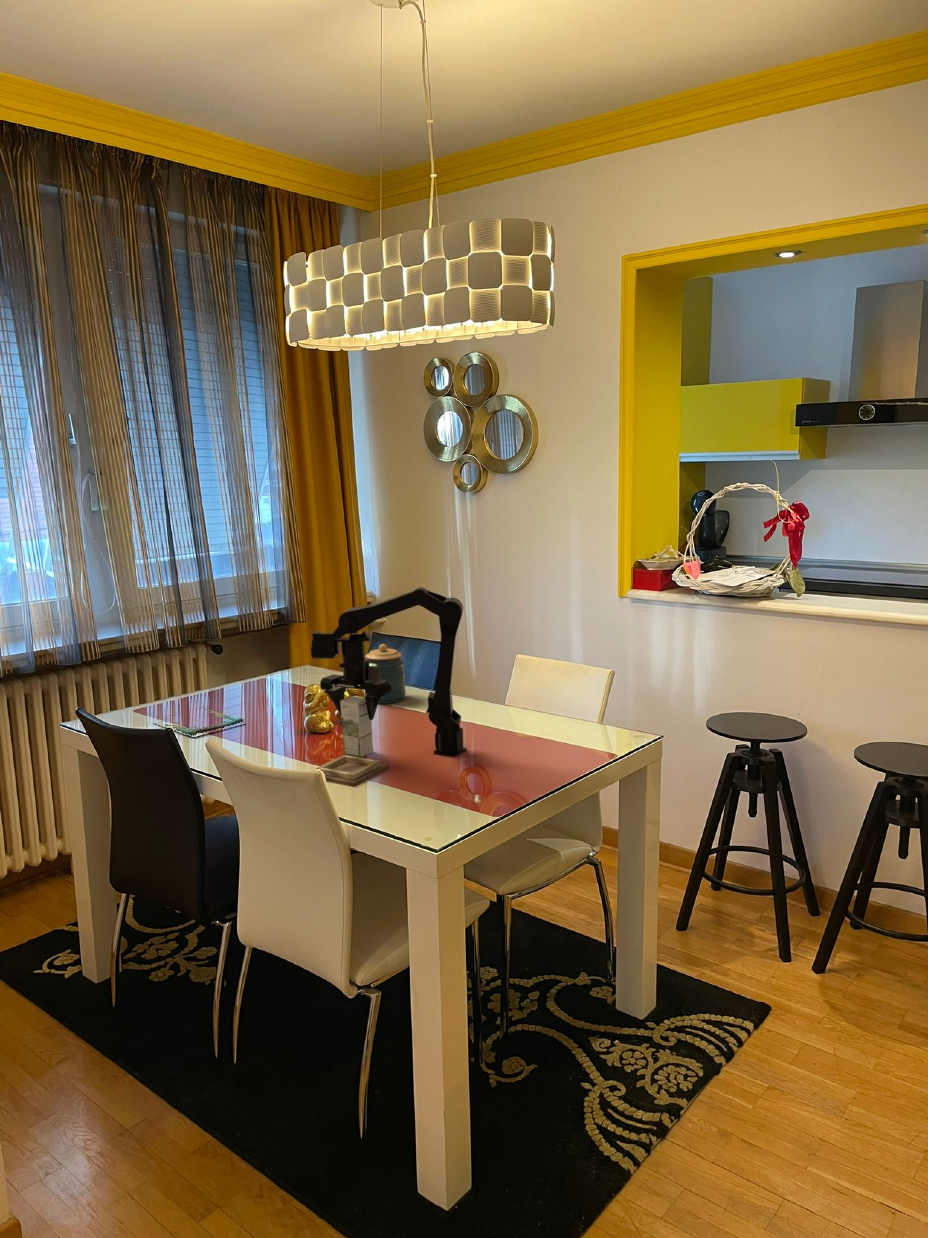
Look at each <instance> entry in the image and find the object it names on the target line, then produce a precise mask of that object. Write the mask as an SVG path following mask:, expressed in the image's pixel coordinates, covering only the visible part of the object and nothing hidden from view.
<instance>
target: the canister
mask: <svg viewBox="0 0 928 1238" xmlns="http://www.w3.org/2000/svg"><path fill="white" fill-rule="evenodd" d="M402 656H403V655H402V653H401V652H399V651H398V650H397V649H393V648H388V646H387V644H384V643H382V644H380V645H379V646H378V649H372V650H370V651H369V653H367V654H365V659H366V660H368V662H369V666H371V667H376V668H380V675H379V680H385V681H389V683H390V684H391V692H388V693H387V694H386V695H384V696H382V697H381V699H380V700H379V703H378V705H380V704H381V705H387V704H393V703H398V702H402V701H404V700H406V695H407V689H406V681H405V679H406V678H405V673H406V671H405V670H404V664H405V660H404V659H402V658H401V657H402ZM372 681H375V679H372V680H370V681H366V682H367V683H370V682H372ZM365 696H367V694H366V692H365V691H364V697H365Z"/></svg>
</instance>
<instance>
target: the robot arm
mask: <svg viewBox="0 0 928 1238" xmlns="http://www.w3.org/2000/svg"><path fill="white" fill-rule="evenodd" d="M416 606H420V607H422V608H423V609H426V610H427V611H428V612H431V613H432V614H433V615H436V616H438V621H439V623H438V624H439V630H440V631H439V632H440V646H439V654H438V655H439V656H438V662H437V663H438V667H437V677H436V685H435V691H434V692H433V691H430V692H429V693H428V697H427V706H428V707H427V709H426V712H425V713H426V714H428V719H429V721H430V723H432V725H434V726H435V727H436V728H435V733H434V746H435V747H434V748H435V750H433V754H436V755H442V756H447V757H457V756H458V755H460V754H462V753H464V752H465V751H467V750H468V748H467V747H465V746H464V728H462V727H460V726H461V720H462V716H461V714H460V713H458V712H457V711H456V710H455V709H454V707H453V706H454V705H453V704H454V702H453V695H452V694H453V693H452V679H453V678H452V677H453V671H454V670H453V668H454V667H453V666H454V658H455V647H456V639H457V633H458V630H459V626H460V623H461V620H462V616H463V613H464V605H463V603H462V601H460V599H458V598H456V597H446V596H444V595H441V594H439V593H436V592H433V591H430V590H429V589H427V588H426V587H421V586H420V587H417V588H415V589H413V590H411V591H408V592H405V593H402V594H399V595H397V596H394V597H391V598H388V599H384V600H383V601H380V602H376V603H374V604H370V605H360V606H354V607H349V608H347V609H345V611H344V612H342V614H340V616H339V618H338V626H337V627H336V628H335V629H334V630H333V632H321V631H315V632H313V633H311V634H312V640H311V646H310V654H311V658H312V660H329V659H330V660H331V659H333V660H335V659H336V658H337V656H338V655H340V654H341V658H342V659H341V661H342V662H340V663H339V669H342V674H331V675H328V676H324V677H322V678H321V680H320V682H319V687H320V690H323V691H324V693H325V694H327V696H328V697H329V698H330V700H331V701H332V703H333V705H334V706H335V708H336V709H337V711H338V713H339V715H340V716H341V700H343V699H345V693H346V690H347V689H354V690H362V691H364V693H365V692H366V694H367V696H365V695H364V697H365V701H366V706H367V711H368V716H369V719H370V720H371V721H372V720H374V718H375V715H376V711H377V709H378V705H379V704H378V703H379V700H380V699H381V697H382V696H384V695H386V694H387V693H388V692H391V684H390V683H389V681H385V680H379V675H380V668H376V667H371V666H369V662H368V660H367V659H366V657H365V656H366V653H365V652H366V651H365V642H370V641H371V639H372V638H373V636H372V635H371V634H369V633H368V632H367V631H366V630H363V631H362V632H361V633H357V632H359V631H361V630H362V629H364V628H366V627H367V626H369V625H371V624H372V623H374V622H376V621H378V620H382V619H383V618H386V617H389V616H392V615H394V614H398V613H401V612H403V611H406V610H408V609H411V608H414V607H416ZM345 635H349V636H347V637H344V636H345ZM372 679H375V681H372V682H370V683H367V682H366V681H370V680H372Z"/></svg>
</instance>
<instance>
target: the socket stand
mask: <svg viewBox="0 0 928 1238" xmlns="http://www.w3.org/2000/svg"><path fill="white" fill-rule="evenodd" d="M316 769H320V770H321V771H323V773H324V774H325V778H326V780H327V781H326V782H331V783H336V784H341V785H345V786H351V787H356V786H358V785H360V784H362V783H364V782H365V781H367V780H369V779H371V778H374V777H375V776H377V775H379V774H380V773H382V772H384V771H385V772H386V771H387V770H389V769H390V764H386V763H381V760H377V759H376V760H375V759H370V758H364V757H357V756H351V755H346V754H343V755H340V756H339V757H337V758H334V759H333V760H330V761H328V762H327V763H324V764H322V765H320V766H318V767H316V768H315V770H316Z"/></svg>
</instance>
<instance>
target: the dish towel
mask: <svg viewBox="0 0 928 1238" xmlns="http://www.w3.org/2000/svg"><path fill="white" fill-rule="evenodd" d="M201 708H204V707H201ZM205 710H209V711H211V712H210V713H215V714H216V715H215V716H217V717H224V718H223V719H229V720H232V721H227V722H226V721H223V722H224V723H219V724H216V726H212V727H203V728H202V729H201V728H200V729H198V728H197V727H196V728H197V729H196V728H195V727H194V728H195V729H187V728H184V727H181V726H177V725H168V724H166V725H165V726H173V728H174V729H175V728H176V730H177V731H181V732H182V733H185V734H189V735H191V736H192V735H193V736H194V735H196V734H197V733H203V732H207V731H211V730H216V729H218V728H224V727H225V726H230V725H234V724H237V723H240V722H243V723H245V722H244V721H245V719H244V718H235V717H232V716H230V715H227V714H223V713H222V712H217V711H213V710H211V709H207V708H205ZM175 715H176V714H172V715H170V716H175ZM231 717H232V718H231ZM161 718H162V717H160V718H156V719H157V720H158V719H161ZM161 722H162V721H161ZM220 722H221V721H220ZM176 730H175V731H176Z"/></svg>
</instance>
